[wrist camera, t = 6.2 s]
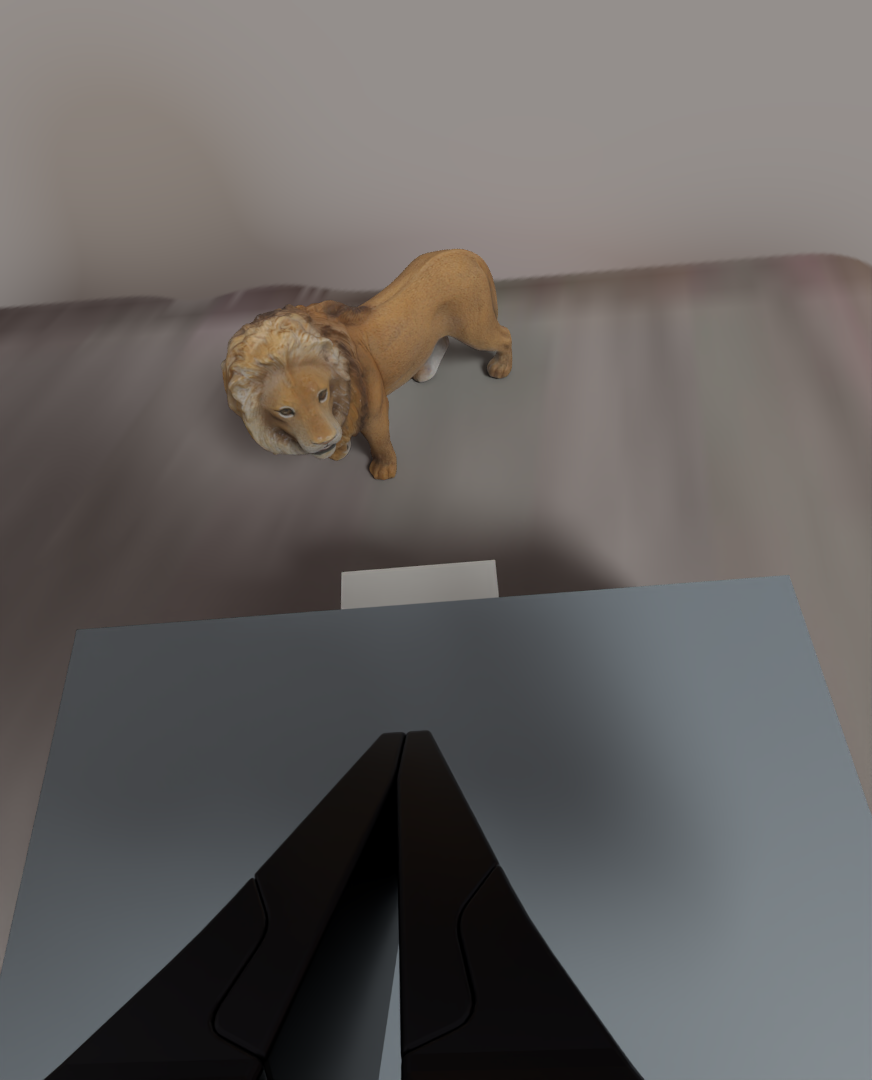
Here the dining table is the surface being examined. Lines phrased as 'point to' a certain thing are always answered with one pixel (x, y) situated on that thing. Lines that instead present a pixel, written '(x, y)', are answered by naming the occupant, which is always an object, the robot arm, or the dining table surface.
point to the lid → (479, 804)
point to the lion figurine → (359, 358)
